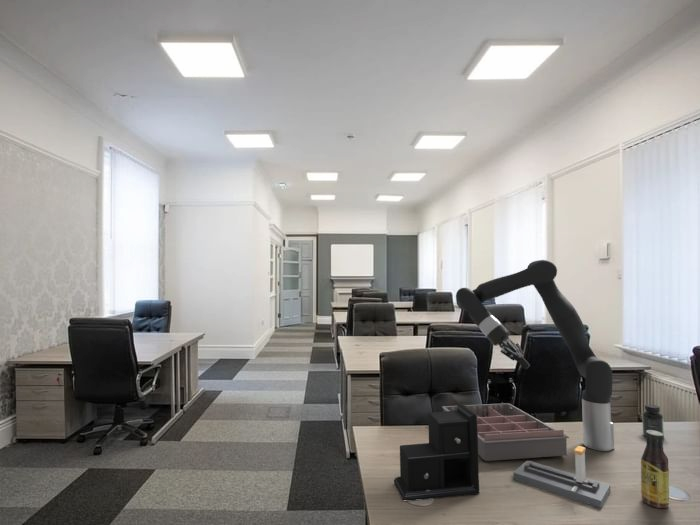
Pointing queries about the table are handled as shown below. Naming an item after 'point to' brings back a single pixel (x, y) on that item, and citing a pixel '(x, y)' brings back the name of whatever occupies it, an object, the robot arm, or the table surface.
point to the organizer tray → (514, 433)
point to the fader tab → (580, 465)
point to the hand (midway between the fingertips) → (527, 367)
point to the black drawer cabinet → (442, 458)
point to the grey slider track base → (562, 483)
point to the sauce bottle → (655, 471)
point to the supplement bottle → (652, 419)
